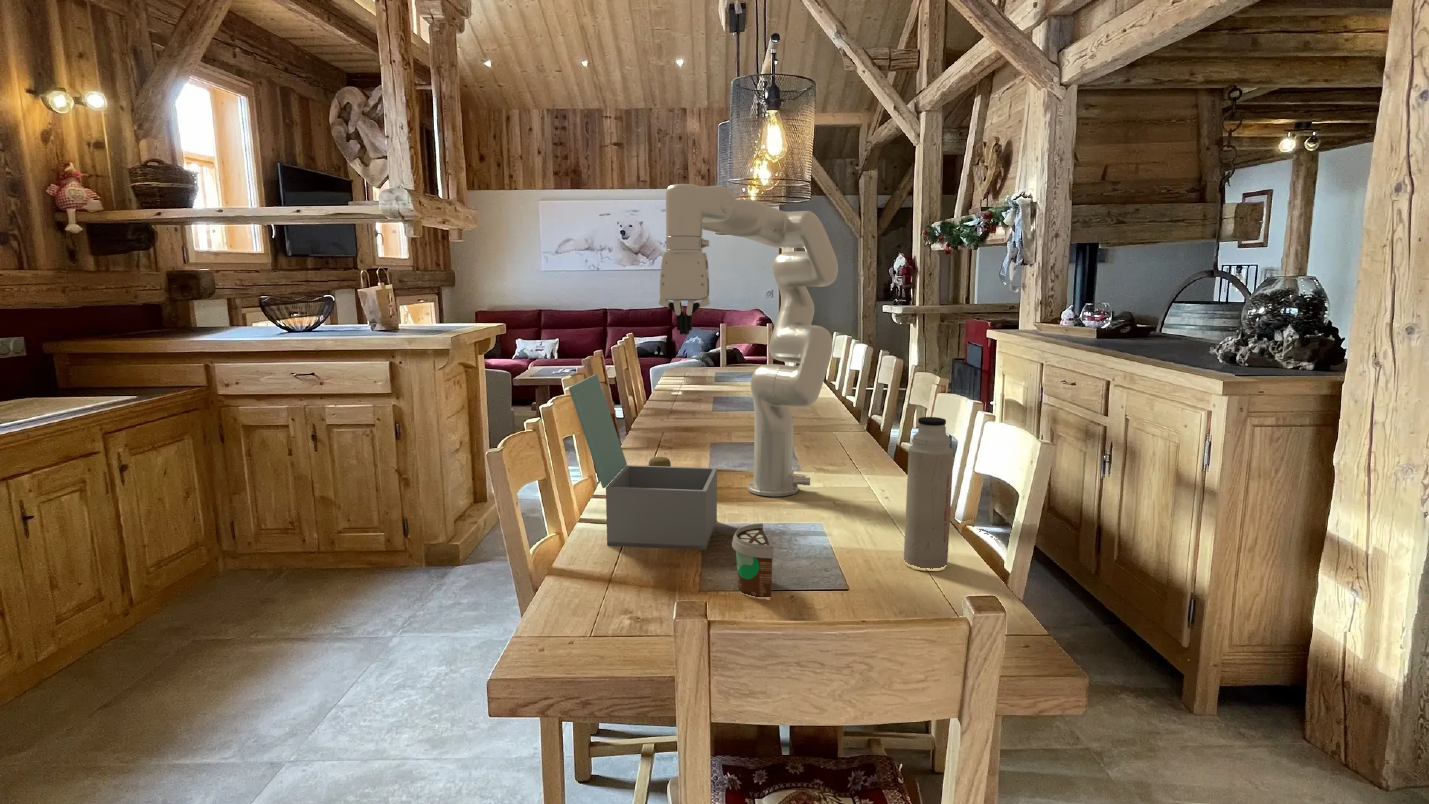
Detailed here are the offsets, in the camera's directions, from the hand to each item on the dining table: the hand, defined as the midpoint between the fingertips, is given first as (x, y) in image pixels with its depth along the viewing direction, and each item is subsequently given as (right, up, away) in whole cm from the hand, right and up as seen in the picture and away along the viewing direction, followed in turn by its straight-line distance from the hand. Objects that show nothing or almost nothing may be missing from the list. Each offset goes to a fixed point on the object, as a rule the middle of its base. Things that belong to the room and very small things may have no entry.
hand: (684, 333), depth 167 cm
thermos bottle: (+46, -45, -18) cm, 67 cm away
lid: (-17, -20, -4) cm, 27 cm away
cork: (-7, -39, +20) cm, 44 cm away
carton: (-4, -42, -1) cm, 42 cm away
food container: (+12, -47, -30) cm, 57 cm away
